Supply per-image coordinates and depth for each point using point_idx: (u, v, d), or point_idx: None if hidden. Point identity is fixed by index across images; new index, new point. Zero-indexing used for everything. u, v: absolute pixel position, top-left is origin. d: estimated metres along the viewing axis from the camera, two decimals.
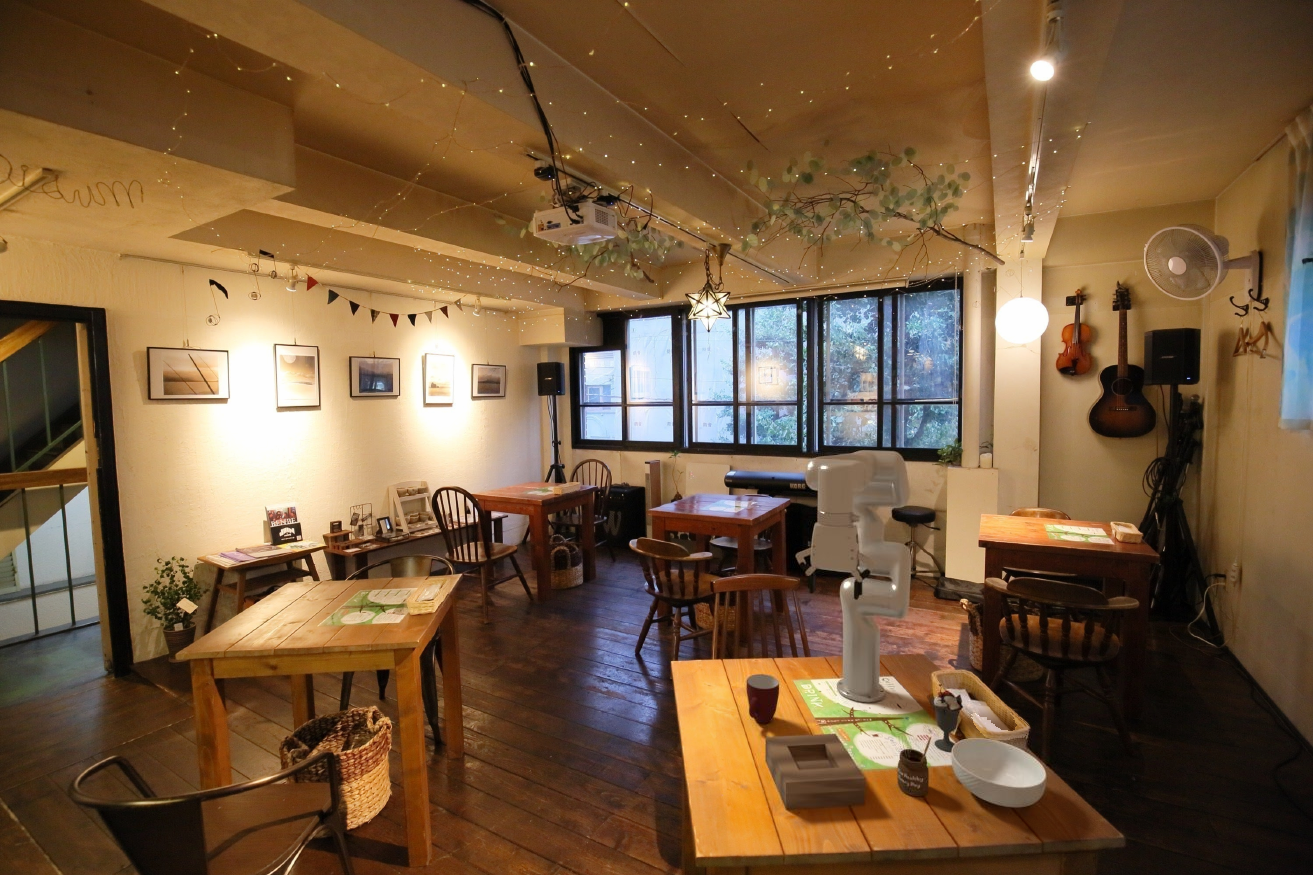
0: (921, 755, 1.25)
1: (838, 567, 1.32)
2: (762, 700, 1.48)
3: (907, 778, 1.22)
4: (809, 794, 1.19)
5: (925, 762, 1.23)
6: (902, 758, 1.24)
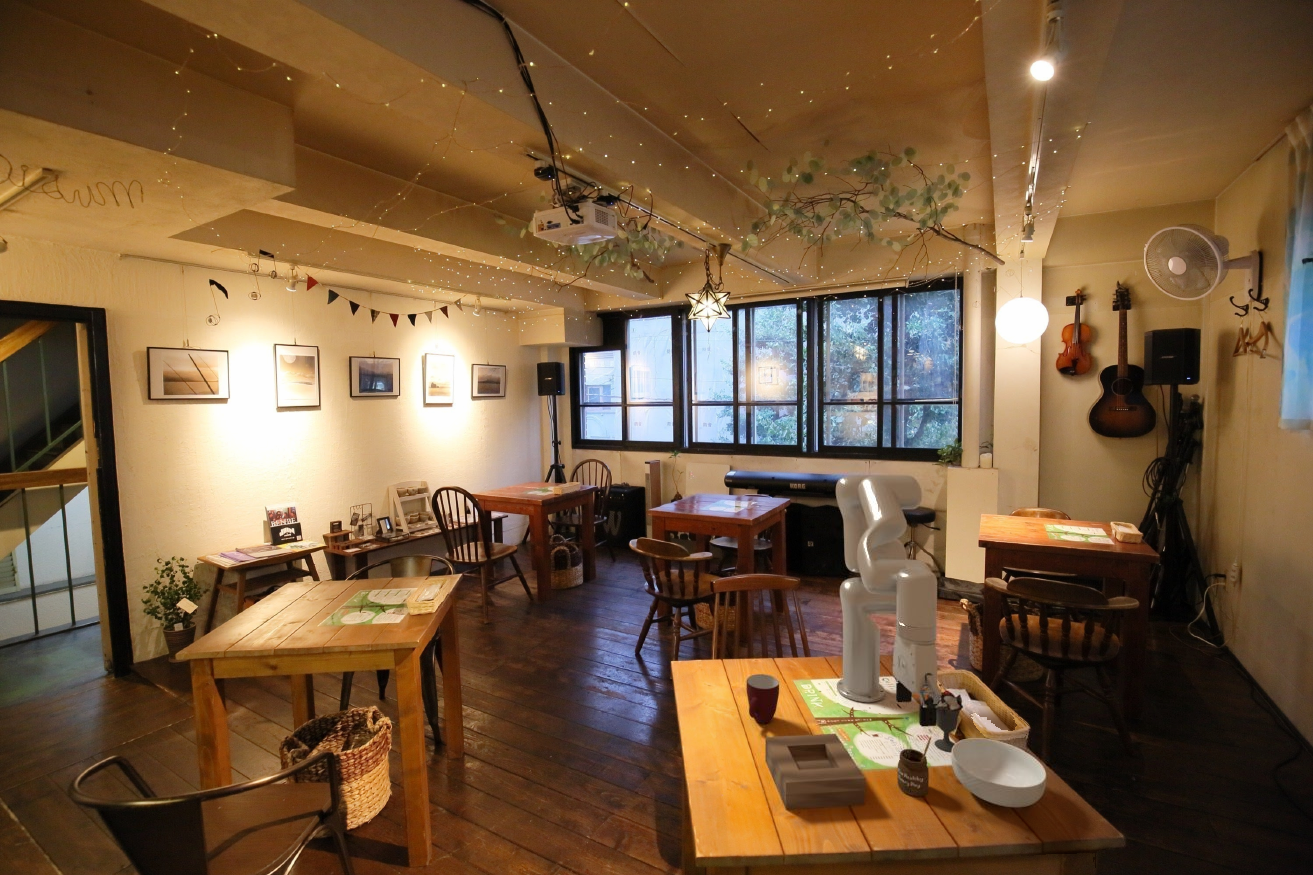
0: (921, 755, 1.25)
1: None
2: (762, 700, 1.48)
3: (907, 778, 1.22)
4: (809, 794, 1.19)
5: (925, 762, 1.23)
6: (902, 758, 1.24)
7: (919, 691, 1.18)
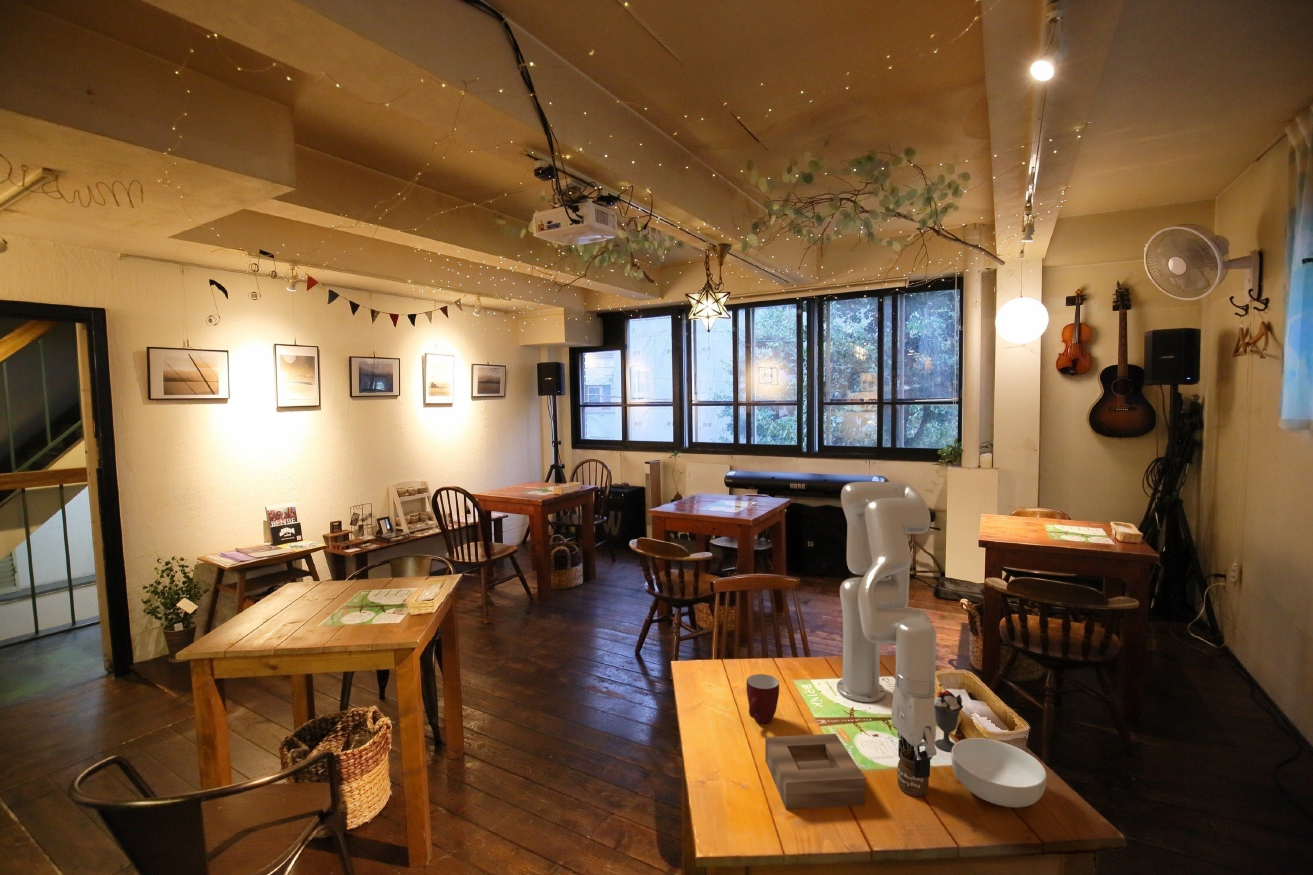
0: None
1: None
2: (762, 700, 1.48)
3: (907, 778, 1.22)
4: (809, 794, 1.19)
5: None
6: (902, 758, 1.24)
7: (918, 744, 1.19)
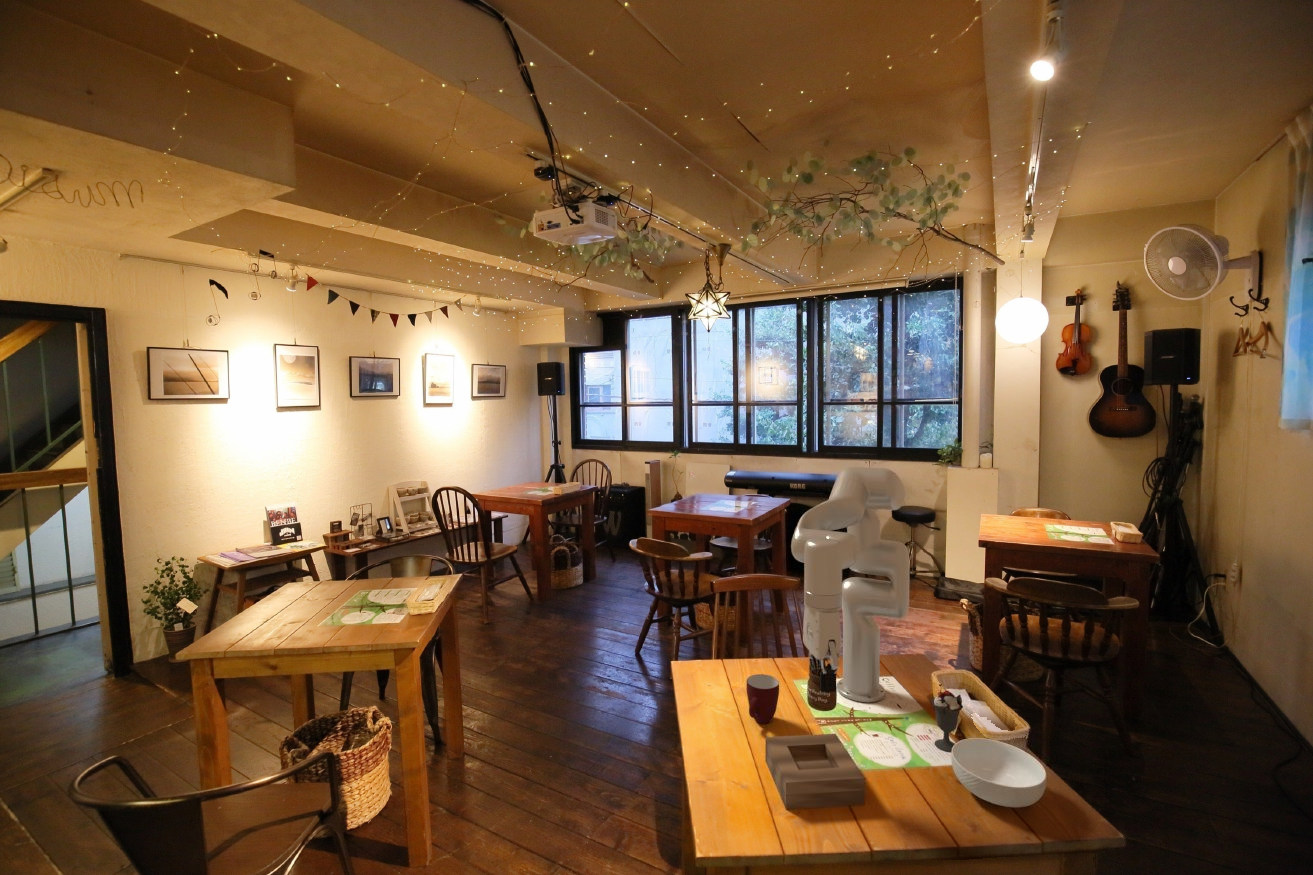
0: None
1: None
2: (762, 700, 1.48)
3: (815, 693, 1.24)
4: (809, 794, 1.19)
5: None
6: (811, 674, 1.25)
7: (822, 657, 1.20)
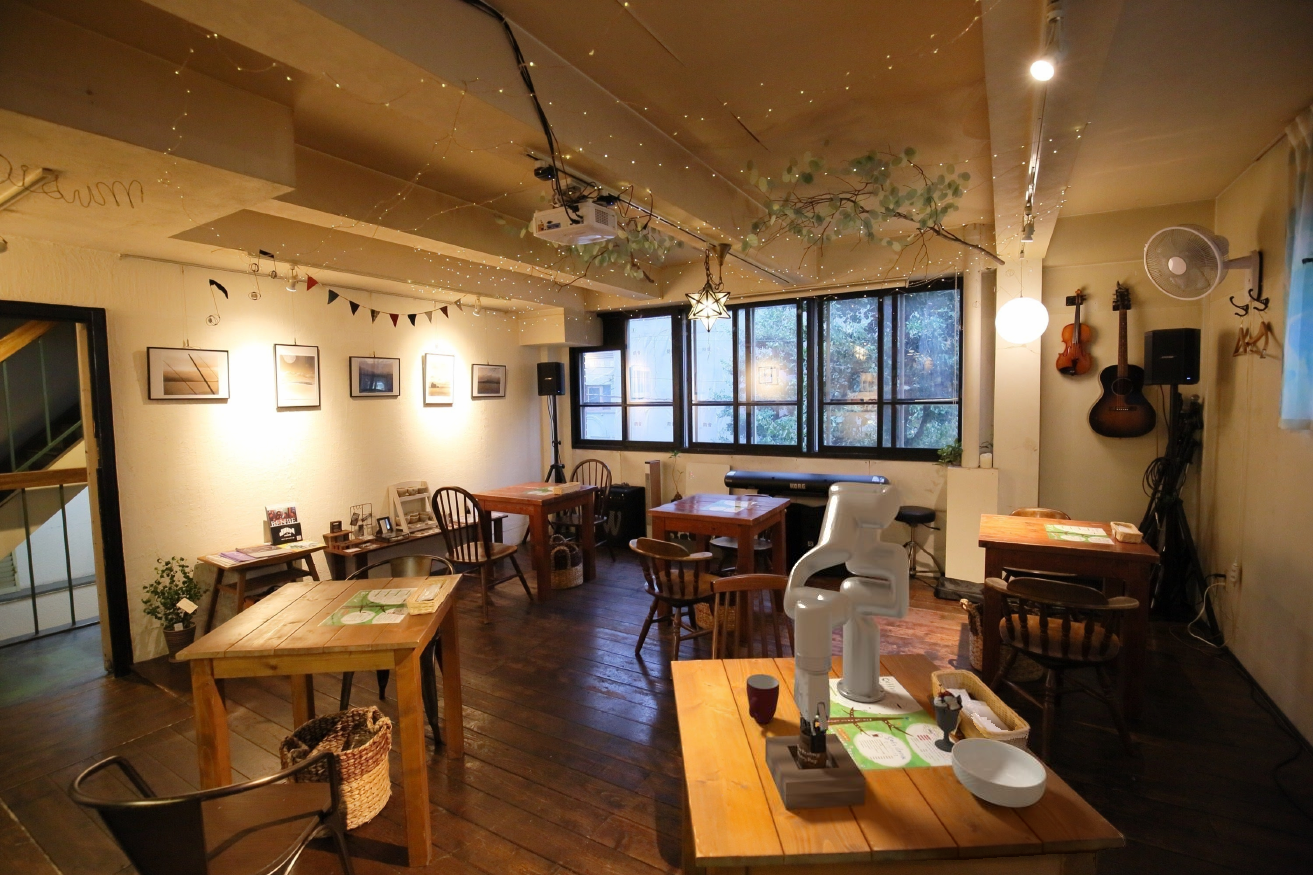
0: None
1: None
2: (762, 700, 1.48)
3: (804, 754, 1.25)
4: (809, 794, 1.19)
5: None
6: (801, 734, 1.26)
7: (812, 719, 1.21)
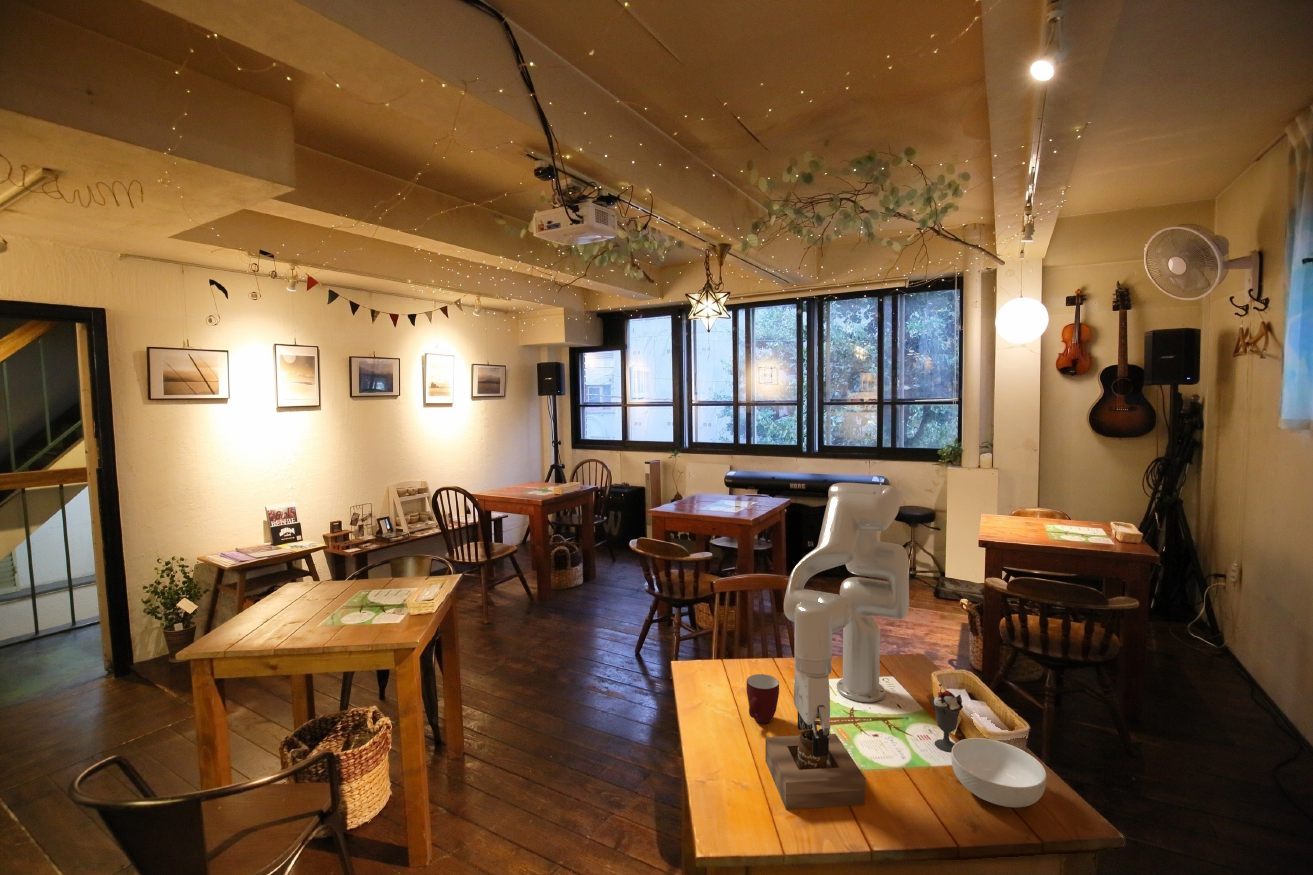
0: None
1: None
2: (762, 700, 1.48)
3: (805, 757, 1.25)
4: (809, 794, 1.19)
5: None
6: (801, 737, 1.26)
7: (812, 722, 1.21)
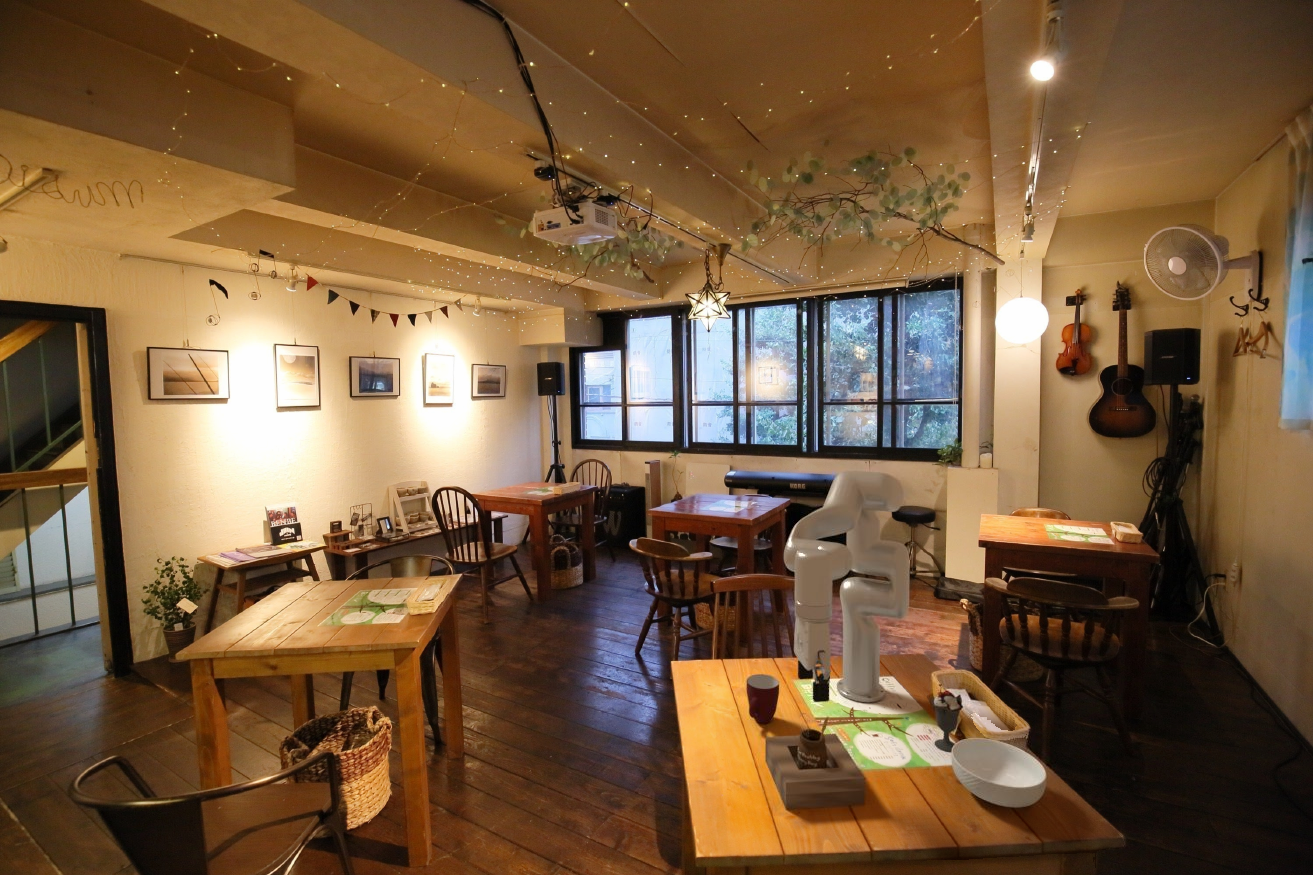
0: (821, 735, 1.28)
1: None
2: (762, 700, 1.48)
3: (805, 757, 1.25)
4: (809, 794, 1.19)
5: (822, 741, 1.25)
6: (801, 737, 1.26)
7: (812, 668, 1.21)
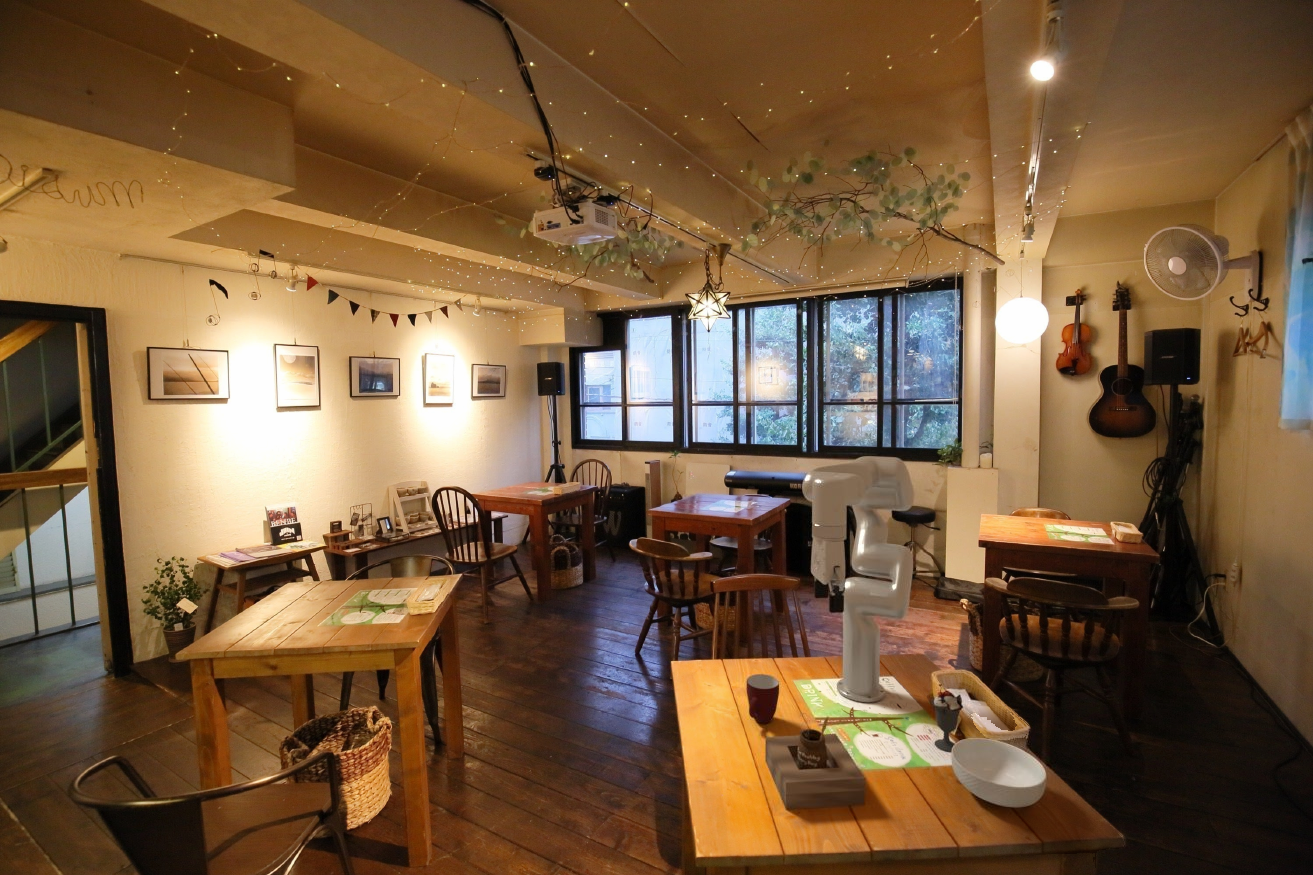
0: (821, 735, 1.28)
1: None
2: (762, 700, 1.48)
3: (805, 757, 1.25)
4: (809, 794, 1.19)
5: (822, 741, 1.25)
6: (801, 737, 1.26)
7: (828, 581, 1.33)
